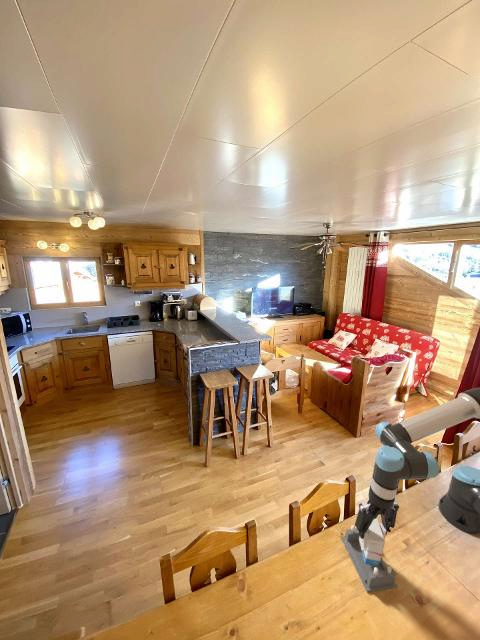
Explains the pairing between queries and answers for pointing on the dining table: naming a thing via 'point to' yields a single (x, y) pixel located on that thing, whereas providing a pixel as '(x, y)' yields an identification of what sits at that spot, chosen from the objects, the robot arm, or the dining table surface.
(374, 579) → the cradle
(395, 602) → the dining table surface
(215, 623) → the dining table surface
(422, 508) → the dining table surface
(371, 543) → the ink box
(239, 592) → the dining table surface
